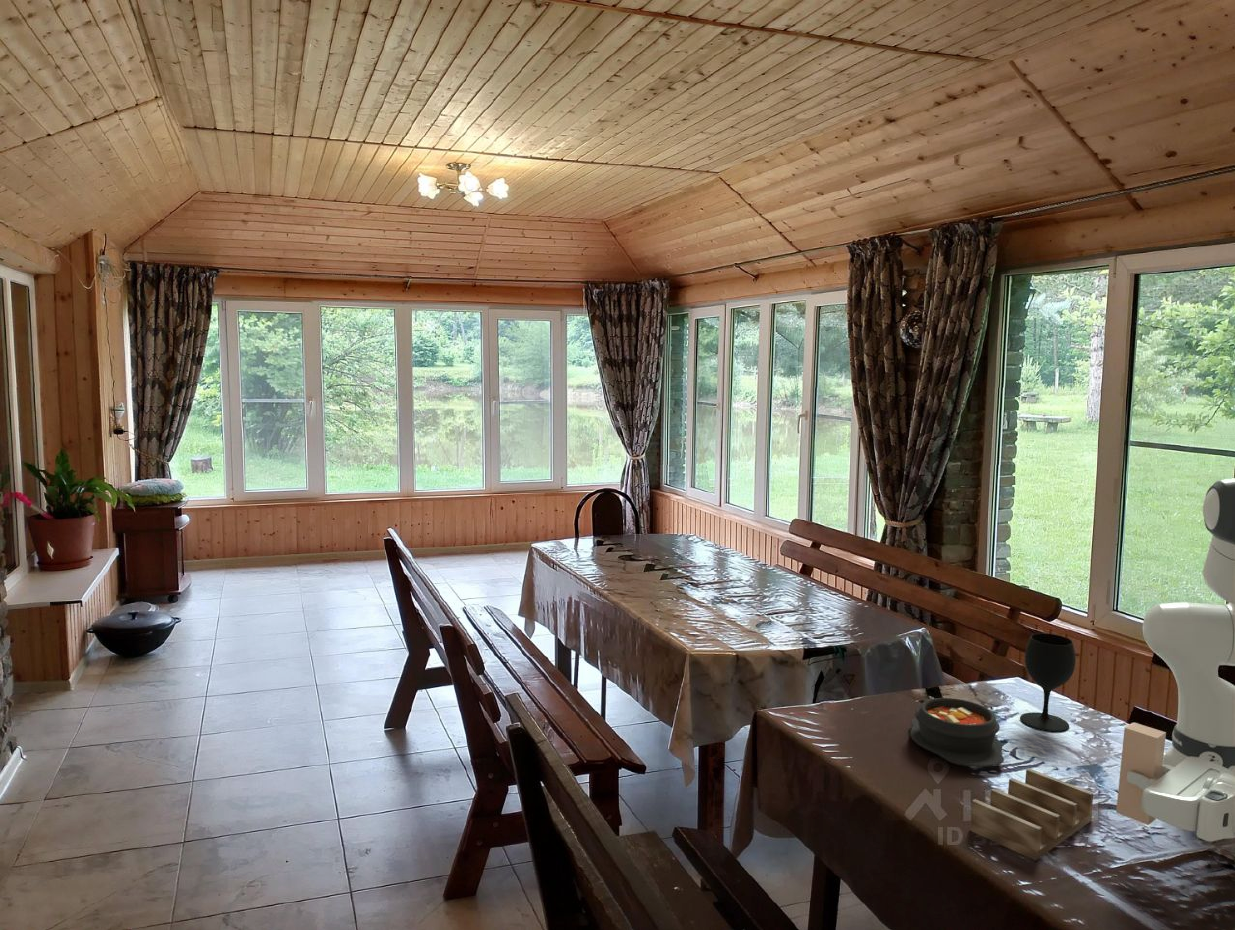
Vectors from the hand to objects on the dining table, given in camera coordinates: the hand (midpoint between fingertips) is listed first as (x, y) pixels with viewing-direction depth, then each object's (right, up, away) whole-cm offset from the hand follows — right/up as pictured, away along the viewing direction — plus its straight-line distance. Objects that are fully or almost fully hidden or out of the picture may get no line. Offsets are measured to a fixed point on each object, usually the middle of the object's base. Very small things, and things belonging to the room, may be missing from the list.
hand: (1135, 770), depth 151 cm
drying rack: (-11, -14, +13) cm, 22 cm away
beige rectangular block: (0, -8, 0) cm, 8 cm away
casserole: (-14, -10, +44) cm, 47 cm away
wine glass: (+12, -9, +58) cm, 60 cm away
